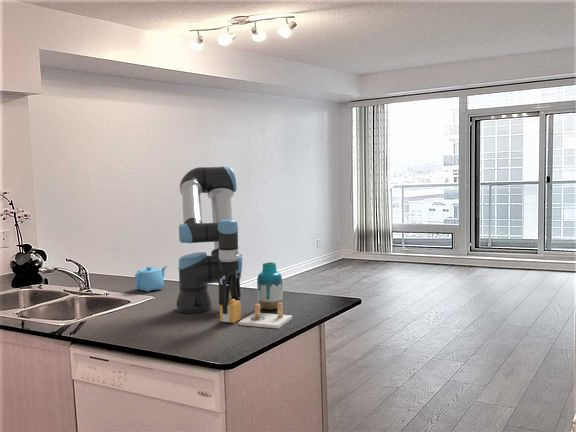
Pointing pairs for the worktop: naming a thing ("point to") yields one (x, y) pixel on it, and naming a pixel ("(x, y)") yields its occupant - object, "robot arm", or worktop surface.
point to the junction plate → (266, 318)
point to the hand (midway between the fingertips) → (230, 319)
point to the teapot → (150, 279)
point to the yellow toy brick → (232, 310)
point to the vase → (269, 287)
